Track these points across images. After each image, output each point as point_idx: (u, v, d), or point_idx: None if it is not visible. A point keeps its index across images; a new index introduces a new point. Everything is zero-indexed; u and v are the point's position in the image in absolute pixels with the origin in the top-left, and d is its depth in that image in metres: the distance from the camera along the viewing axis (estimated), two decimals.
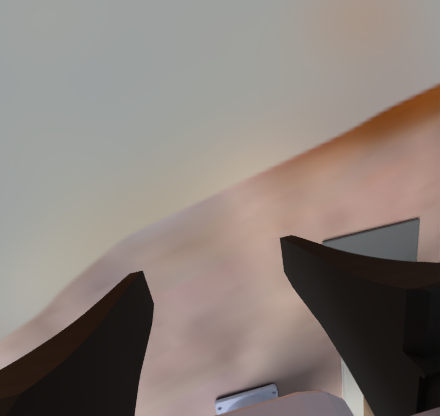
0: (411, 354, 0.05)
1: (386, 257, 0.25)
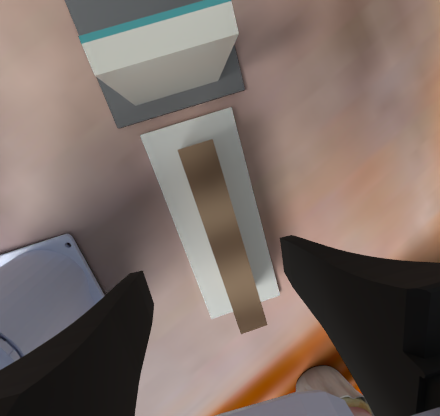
0: (411, 353, 0.05)
1: None
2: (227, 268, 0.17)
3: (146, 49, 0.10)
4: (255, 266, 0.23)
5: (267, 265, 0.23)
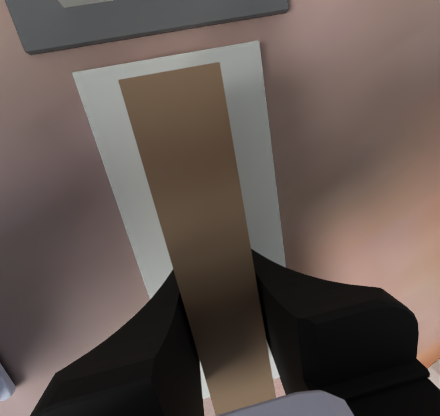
0: (312, 381, 0.05)
1: None
2: (222, 370, 0.08)
3: None
4: None
5: None
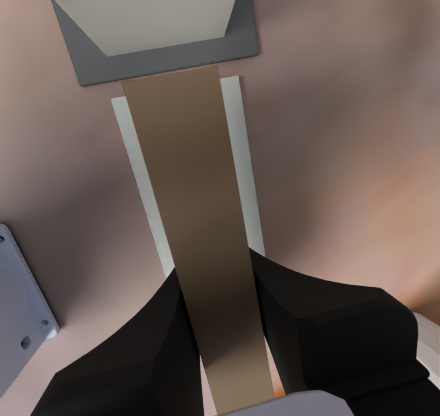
0: (312, 382, 0.05)
1: None
2: (221, 361, 0.08)
3: None
4: None
5: None
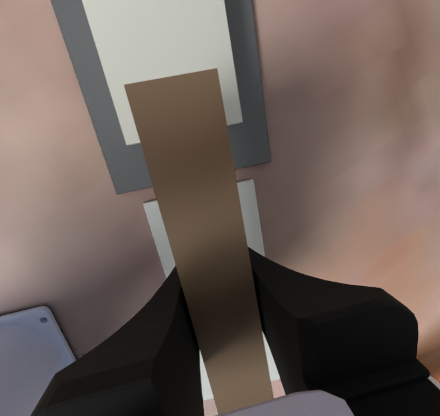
0: (313, 382, 0.05)
1: None
2: (220, 357, 0.08)
3: None
4: None
5: None
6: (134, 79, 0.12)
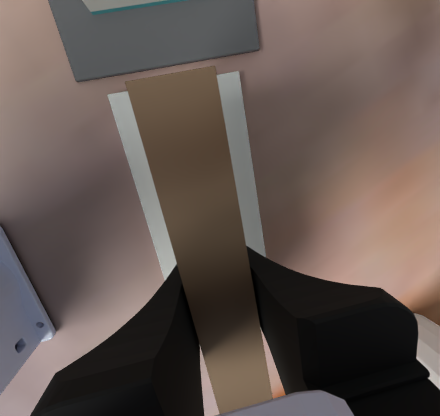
0: (313, 382, 0.05)
1: None
2: (219, 348, 0.09)
3: None
4: None
5: None
6: None
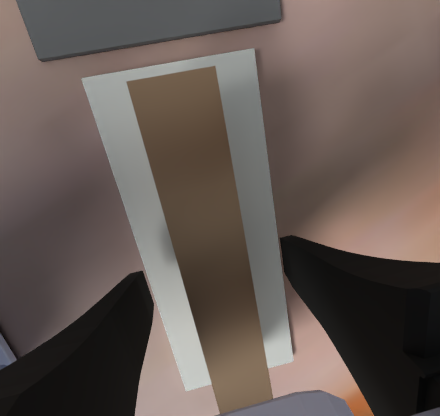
0: (411, 353, 0.05)
1: None
2: (219, 347, 0.09)
3: None
4: (262, 318, 0.15)
5: (280, 318, 0.15)
6: None
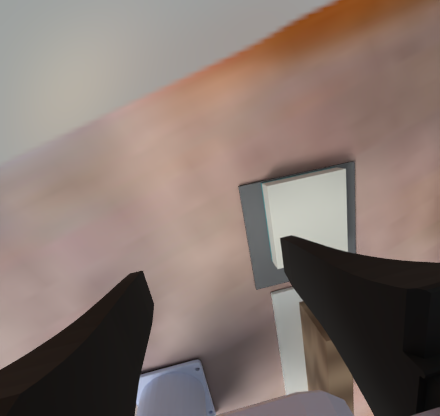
0: (412, 353, 0.05)
1: None
2: None
3: (294, 178, 0.19)
4: None
5: None
6: (289, 234, 0.20)
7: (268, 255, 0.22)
